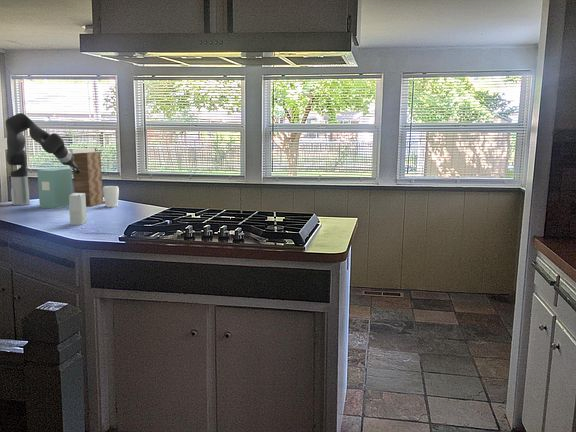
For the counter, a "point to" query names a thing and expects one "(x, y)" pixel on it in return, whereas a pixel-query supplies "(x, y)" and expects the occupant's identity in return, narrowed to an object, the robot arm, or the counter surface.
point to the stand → (89, 177)
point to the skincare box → (77, 208)
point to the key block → (54, 187)
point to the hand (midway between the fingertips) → (74, 167)
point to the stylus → (82, 150)
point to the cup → (111, 195)
